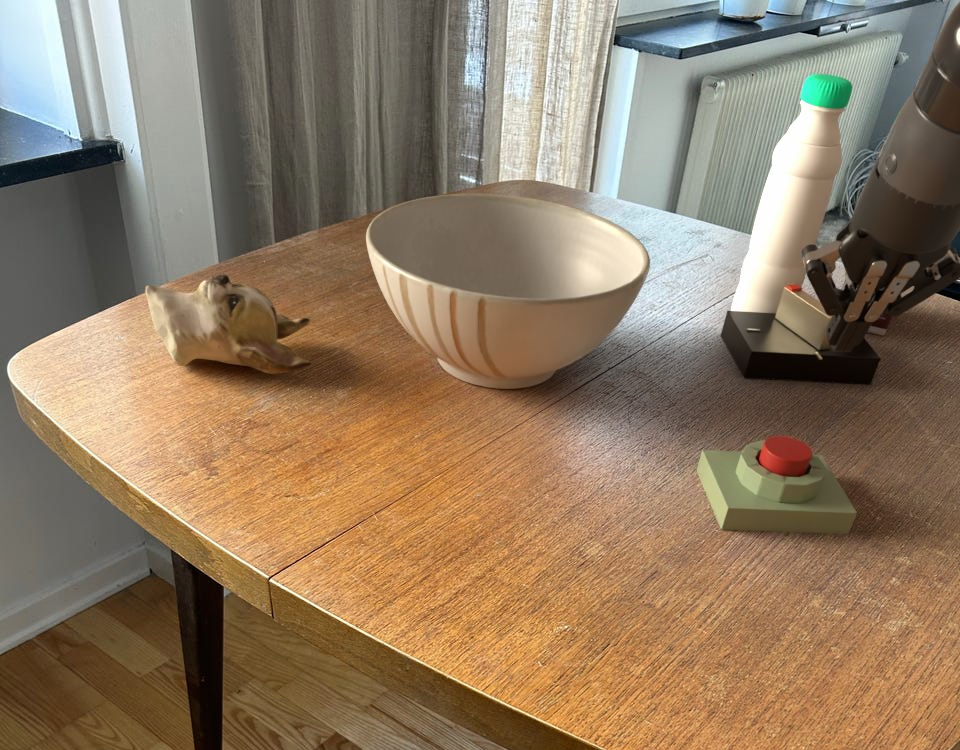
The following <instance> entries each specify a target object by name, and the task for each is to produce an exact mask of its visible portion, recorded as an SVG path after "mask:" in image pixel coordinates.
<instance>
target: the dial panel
mask: <svg viewBox="0 0 960 750" xmlns="http://www.w3.org/2000/svg"><path fill="white" fill-rule="evenodd" d="M775 316H776V313H759V312H742V311H731V310H726V313H725V318H724V321H723V324H722V325H723V326H722V329H721V332H720V338H721V340H722V341H723V343H724V345H725V347H726V348H727V351H728V352H729V354H730V356H731V357H732V359H733V361H734V363H735V364H736V366H737V368H738V370H739V372H740V374H741V375H742V377H743V378H744V379H754V380H755V379H758V380H775V381H777V380H778V381H796V382H817V383H834V384H852V385H853V384H854V385H855V384H856V385H872V383H873V381H874V377H875V375H876V372H877V370H878V367H879V365H880V362H881V360H882V358H881V356H880V355H879V353H877V352H876V350H875V349H874V348H873V347H872V345H871V344H870V342H869V341H868V340H867V339H866V337H864V339H863V340H862V342H861V343H860V344H859V345H858V346H854V347H853V349H852V351H851V352H833V351H832V347H831V349H825V350H818V349H817V348H815V347H814V346H812V345H811V344H810V343H808V342H807V341H806V340H804V339H803V338H802V337H800V336H799V335H797V334H796V333H795V332H793V331H792V330H791V329H789V328H788V327H787V326H785V325H784V324H782V323H781V322H780V321H778V320H777V319H776V318H775Z"/></svg>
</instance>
